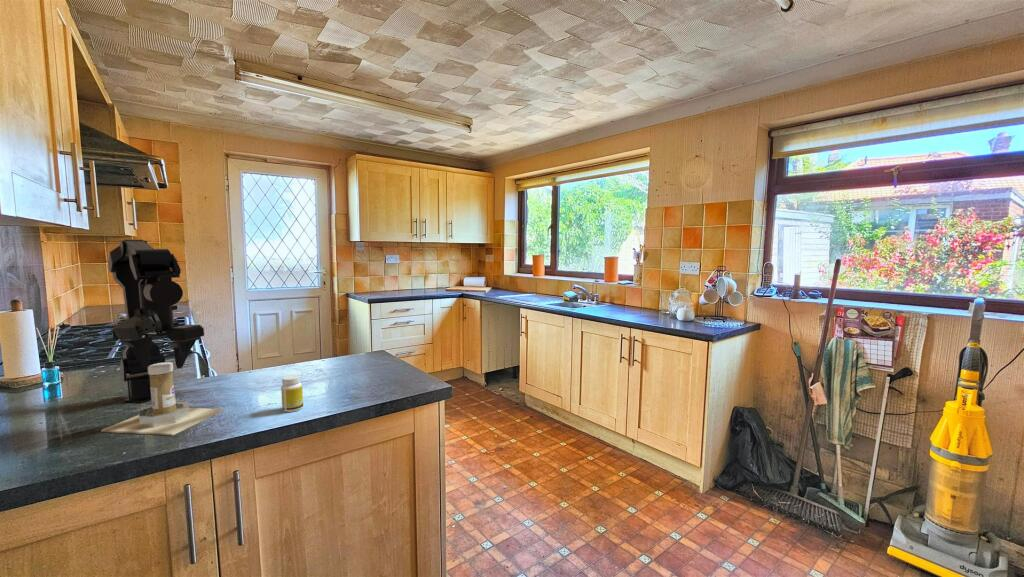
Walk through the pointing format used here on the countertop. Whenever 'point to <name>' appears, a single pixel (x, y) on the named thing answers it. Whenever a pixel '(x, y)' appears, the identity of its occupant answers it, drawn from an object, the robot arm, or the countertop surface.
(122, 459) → the countertop surface
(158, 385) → the sprinkles bottle
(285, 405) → the supplement bottle
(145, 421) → the socket collar
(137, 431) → the dock plate
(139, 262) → the robot arm
